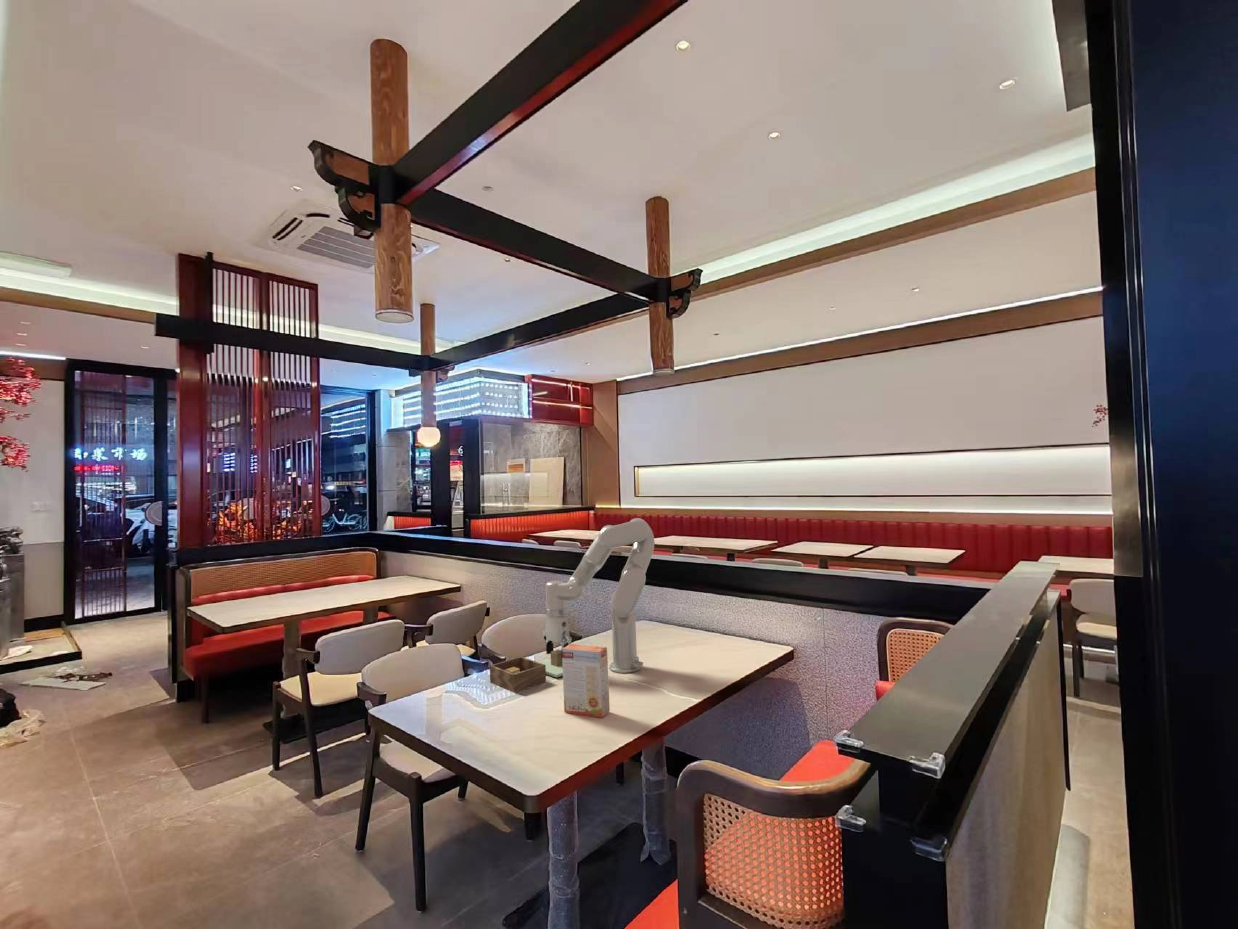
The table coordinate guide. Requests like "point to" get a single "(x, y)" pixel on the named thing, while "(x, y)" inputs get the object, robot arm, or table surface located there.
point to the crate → (518, 674)
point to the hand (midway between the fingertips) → (557, 655)
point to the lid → (554, 664)
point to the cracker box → (585, 680)
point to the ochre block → (513, 670)
